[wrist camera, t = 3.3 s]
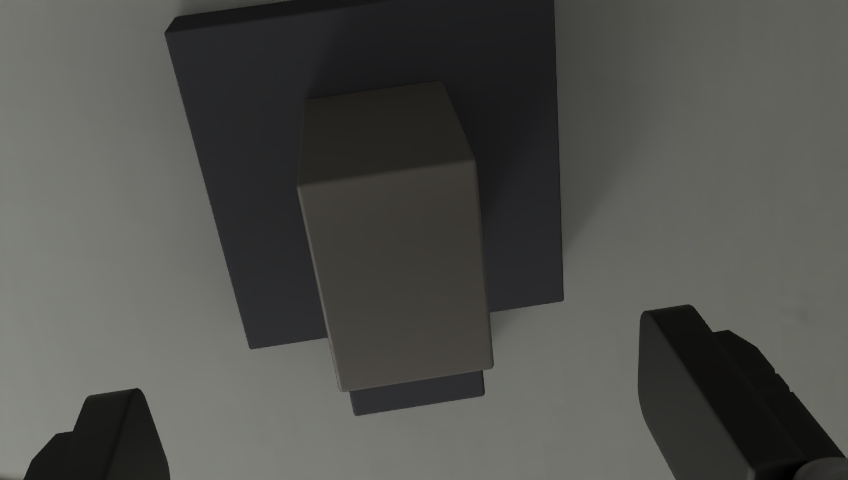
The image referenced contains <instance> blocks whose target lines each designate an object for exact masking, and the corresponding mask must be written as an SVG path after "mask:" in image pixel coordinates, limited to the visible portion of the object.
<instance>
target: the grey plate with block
mask: <svg viewBox="0 0 848 480" xmlns="http://www.w3.org/2000/svg"><path fill="white" fill-rule="evenodd" d="M165 37H166V41H167V45H168V49H169V52H170V56H171V60H172V63H173V67H174V71H175V75H176V78H177V82H178V86H179V89H180V93H181V97H182V100H183V104H184V108H185V112H186V115H187V119H188V123H189V126H190V130H191V134H192V137H193V141H194V145H195V149H196V152H197V156H198V160H199V163H200V167H201V171H202V174H203V178H204V182H205V186H206V189H207V193H208V197H209V200H210V204H211V208H212V212H213V215H214V219H215V223H216V226H217V230H218V234H219V237H220V241H221V245H222V249H223V252H224V256H225V260H226V263H227V267H228V271H229V274H230V278H231V282H232V286H233V289H234V293H235V297H236V300H237V304H238V308H239V311H240V315H241V319H242V323H243V326H244V330H245V334H246V337H247V341H248V345H249V348H250V349H257V348H263V347H270V346H276V345H283V344H289V343H296V342H302V341H308V340H315V339H321V338H328V339H329V344H330V349H331V353H332V358H333V363H334V368H335V372H336V377H337V382H338V387H339V390H340V391H341V392H347V391H349V392H350V397H351V402H352V407H353V412H354V414H355V416H359V415H366V414H372V413H378V412H385V411H391V410H397V409H403V408H410V407H416V406H422V405H429V404H435V403H441V402H448V401H454V400H460V399H466V398H473V397H479V396H483V395H484V393H485V389H484V378H483V370H487V369H491V368H493V366H494V360H493V349H492V337H491V326H490V314H489V313H490V312H496V311H503V310H509V309H516V308H522V307H528V306H535V305H541V304H548V303H554V302H561V301H563V300H564V293H563V262H562V231H561V200H560V169H559V139H558V108H557V77H556V46H555V15H554V0H295V1H288V2H281V3H274V4H266V5H259V6H252V7H245V8H237V9H230V10H223V11H216V12H208V13H201V14H194V15H187V16H179V17H175V18H174V20H173V21H172V23H171V24H170V25H169V27H168V28H167V30H166V31H165Z"/></svg>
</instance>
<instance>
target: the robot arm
mask: <svg viewBox="0 0 848 480" xmlns="http://www.w3.org/2000/svg"><path fill="white" fill-rule="evenodd" d="M638 395H639V401H640V406H641V410H642V414H643V417H644V419H645V422H646V424H647V426H648V428H649V430H650V432H651V434H652V436H653V437H654V439H655V441H656V443H657V445H658V447H659V449H660V451H661V453H662V454H663V456H664V458H665V460H666V462H667V464H668V466H669V468H670V469H671V471H672V473H673V475H674V477H675V479H676V480H848V458H846V457H845V456H844V454H843V453H842V452H841V451H840V449H839V448H838V447H837V446H836V445H835V443H834V442H833V441H832V440H831V438H830V437H829V436H828V435H827V433H826V432H825V431H824V430H823V428H822V427H821V426H820V425H819V424H818V422H817V421H816V420H815V419H814V417H813V416H812V415H811V414H810V412H809V411H808V410H807V409H806V407H805V406H804V405H803V404H802V403H801V401H800V400H799V399H798V398H797V396H796V395H795V394H794V393H793V392H790V390H789V386H788V385H787V384H786V383H785V382H784V380H783V379H782V378H781V377H780V375H779V374H775V369H774V368H773V367H772V365H771V364H770V363H769V362H768V361H767V359H766V358H765V357H764V356H763V354H762V353H761V352H760V351H759V349H758V348H757V347H756V346H754V345H752V344H751V343H749V342H747V341H746V340H744V339H743V338H741V337H739V336H738V335H736V334H734V333H733V332H731V331H729V330H725V331H719V332H712V331H711V329H710V328H709V327H708V325H707V324H706V323H705V321H704V320H703V319H702V317H701V316H700V315H699V313H698V312H697V311H696V309H695V308H694V307H693V306H692V305H689V304H688V305H681V306H675V307H668V308H662V309H655V310H649V311H644V312H643V313H642V315H641V319H640V335H639V364H638ZM23 480H170V473H169V466H168V462H167V459H166V456H165V453H164V450H163V447H162V444H161V441H160V438H159V436H158V433H157V430H156V427H155V424H154V421H153V418H152V415H151V413H150V410H149V407H148V404H147V401H146V399H145V396H144V394H143V392H142V391H141V390H140V389H138V388H135V389H129V390H122V391H116V392H109V393H103V394H96V395H90V396H88V397H87V398H86V400H85V402H84V404H83V406H82V409H81V412H80V414H79V417H78V419H77V422H76V425H75V427H74V430H73V431H71V432H64V433H58V434H55V436H54V437H53V438H52V439H51V440H50V441H49V442H48V443H47V444H46V445H45V446H44V448H43V449H42V450H41V451H40V452H39V453H38V454H37V455H36V456H35V457H34V458H33V459H32V461H31V463H30V466H29V468H28V470H27V473H26V475H25V477H24V479H23Z"/></svg>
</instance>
